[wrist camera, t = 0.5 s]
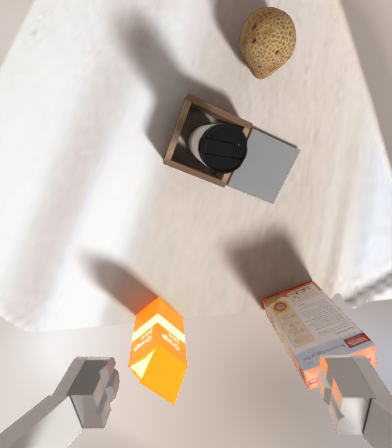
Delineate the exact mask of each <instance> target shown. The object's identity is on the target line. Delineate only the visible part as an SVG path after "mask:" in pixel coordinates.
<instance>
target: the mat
mask: <svg viewBox="0 0 392 448" xmlns="http://www.w3.org/2000/svg"><path fill="white" fill-rule="evenodd" d="M247 148H248V150H247V155H246V158H245V159H244V161H243V163H242V165H241V166H240V167H239V168H238V169H237V170H235V171H234V172H232V174H231V176H230V178H229V181H228V183H227V186H229V187H232V188H234V189H237V190H239V191H242V192H244V193H247V194H249V195H252V196H254V197H257V198H259V199H262V200H264V201H267V202H269V203H272V204H273V203H274V201H275V199H276V197H277V195H278V193H279V191H280V189H281V187H282V185H283V183H284V181H285V179H286V177H287V175H288V173H289V171H290V170H291V168H292V166H293V164H294V162H295V160H296V158H297V156H298V154H299V152H300V150H298V149H296V148H294V147H292V146H289V145H287V144H285V143H283V142H281V141H279V140H277V139H275V138H272V137H270V136H268V135H266V134H264V133H262V132H260V131H257V130H255V129H251V131H250V133H249V136H248V138H247Z"/></svg>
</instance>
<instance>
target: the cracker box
mask: <svg viewBox="0 0 392 448" xmlns="http://www.w3.org/2000/svg"><path fill="white" fill-rule="evenodd" d="M263 304H264V307H265V310H266V314H267V316H268V318H269V320H270V322H271V323H272V325H273V327H274V329H275V331H276V333H277V334H278V336H279V338H280V340H281V342H282V343H283V345H284V347H285V348H286V350H287V352H288V354H289V356H290V358H291V359H292V361H293V363H294V365H295V367H296V368H297V370H298V372H299V374H300V375H301V377H302V379H303V381H304V382H305V384H306V386H307V388H308V389H309V390H310V389H313V388H315V387H318V386H319V384H318V371H319V370H320V369H321V366H320V363H319V361H320V357H321V356H325V355H364V356H366V357H367V358H368V360H369V361H370V363H371V365H372V366H375V365H377V359H376V350H375V344H374V343H373V342H372V341H371V340H370V339H369V338H368V337H367V336H366V335H365V333H364V332H362V330H361V329H360V328H359V327H357V325H356V324H355V323H354V322H353V321H352V320H351V319H350V318H349V317H348V316H347V315H346V314H345V313H344V312H343V311H342V310H341V309H340V308H339V307H338V306H337V305H336V304H335V303H334V302H333V301H332V300H331V299H330V298H329V297H328V296H327V295H326V294H325V293H324V292H323V291H322V290H321V288H319V286H318V285H317V284H316V283H315V282H313V281H311V282H309V283H306V284H303V285H301V286H298V287H295V288H293V289H290V290H287V291H285V292H282V293H279V294H277V295H274V296H271V297H269V298H266V299H264V300H263Z"/></svg>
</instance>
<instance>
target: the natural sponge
mask: <svg viewBox="0 0 392 448" xmlns="http://www.w3.org/2000/svg"><path fill="white" fill-rule="evenodd" d="M295 43H296V31H295V26H294V23H293V21H292V19H291V18H290V16H289V15H288V14H287V13H285V12H284V11H282V10H280V9H277V8H274V7H265V8H262V9H259V10H257V11H255V12H254V13H252V14H251V15H250V16H249V18H248V19H247V21H246V22H245V24H244V26H243V28H242V31H241V36H240V50H241V54H242V57H243V59H244V61H245V63H246V64H247V66H248V67H249V69H250V71H251V72H252V74H253V75H254V76H255V77H256V78H258V79H264V78H266V77H268V76H270V75H271V74H272V73H274V72H275V71H276V70H277V69H279V68H280V67H281V66H282V65H283V64H285V63H286V62H287V61H288V59H289V58H290V57H291V55H292V53H293V51H294V48H295Z"/></svg>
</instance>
